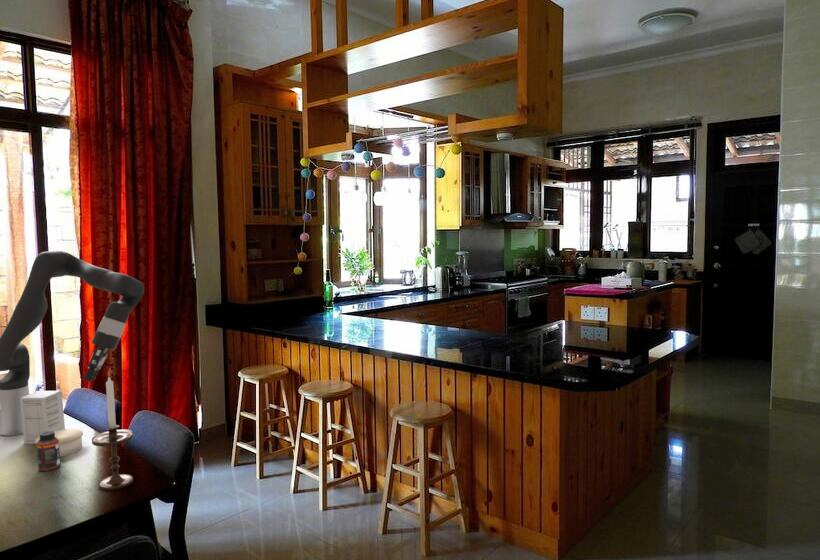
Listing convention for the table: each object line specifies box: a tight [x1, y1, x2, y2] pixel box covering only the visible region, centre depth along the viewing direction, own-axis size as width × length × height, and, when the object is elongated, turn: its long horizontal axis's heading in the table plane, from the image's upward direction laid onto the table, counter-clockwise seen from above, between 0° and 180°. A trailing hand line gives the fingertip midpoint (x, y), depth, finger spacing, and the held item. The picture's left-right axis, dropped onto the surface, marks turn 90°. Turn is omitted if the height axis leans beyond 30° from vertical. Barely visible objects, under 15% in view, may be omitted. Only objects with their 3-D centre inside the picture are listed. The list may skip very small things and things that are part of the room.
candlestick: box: [91, 367, 135, 492], centre depth 168 cm, size 11×11×35 cm
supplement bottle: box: [36, 431, 61, 472], centre depth 182 cm, size 6×6×11 cm
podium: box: [35, 428, 84, 458], centre depth 196 cm, size 14×14×5 cm
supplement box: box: [20, 390, 66, 445], centre depth 207 cm, size 10×9×17 cm
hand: (88, 380), depth 188 cm, fingers open, 8 cm apart
